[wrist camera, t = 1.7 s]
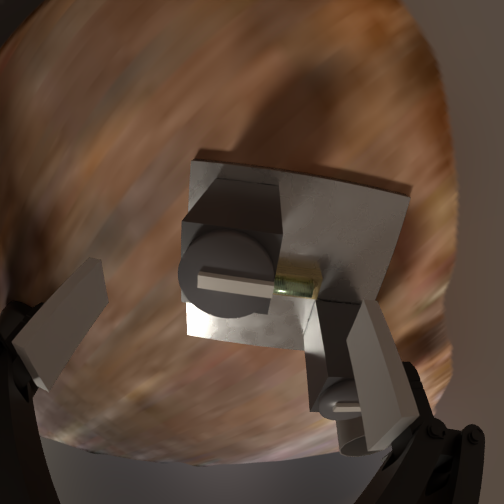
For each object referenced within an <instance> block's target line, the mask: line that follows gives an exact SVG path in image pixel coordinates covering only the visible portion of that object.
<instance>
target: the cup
mask: <svg viewBox="0 0 504 504" xmlns="http://www.w3.org/2000/svg"><path fill="white" fill-rule="evenodd" d="M336 425H337V434H338V442H339V450H340V454H342V455H344V456H347V457H351V456H352V457H359V456H365V455H370V454H373V453H376V452H379V451H382V450H376V451H367V444H366V438H365V431H364V425H363V420H362V416H359V417H356V418H353V419H348V420H336ZM389 446H391V444H390V445H389ZM389 446H388V447H389ZM388 447H387V448H388ZM385 449H386V448H385Z"/></svg>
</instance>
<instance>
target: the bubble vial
mask: <svg viewBox="0 0 504 504" xmlns="http://www.w3.org/2000/svg"><path fill="white" fill-rule="evenodd" d="M322 280H323V278H322V274H321V270H316V269H309V268H301V267H294V266H287V265H279V264H278V265H277V270H276V275H275V281H274V290H273V294H274V295H282V296H290V297H298V298H307V299H315V300H317V297H318V294H319V290H320V287H321V284H322Z"/></svg>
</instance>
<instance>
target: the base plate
mask: <svg viewBox="0 0 504 504" xmlns="http://www.w3.org/2000/svg"><path fill="white" fill-rule="evenodd" d="M216 178H217V179H225V180H234V181H242V182H249V183H257V184H264V185H271V186H278V187H279V191H280V203H281V214H282V227H283V238H282V244H281V249H280V255H279V260H278V264H279V265H287V266H294V267H301V268H309V269H316V270H321V274H322V278H323V280H322V284H321V287H320V290H319V294H318V297H317V300H316V301H325V302H334V303H344V304H353V305H361V304H362V302H363V299H364V300H373V301H375V299H376V297H377V294H378V292H379V289H380V287H381V284H382V282H383V279H384V277H385V274H386V271H387V269H388V266H389V263H390V260H391V258H392V255H393V252H394V249H395V246H396V243H397V240H398V237H399V234H400V231H401V228H402V225H403V222H404V218H405V215H406V212H407V208H408V205H409V201H410V197H409V196H407V195H406V194H402V193H398V192H394V191H390V190H386V189H381V188H377V187H373V186H368V185H364V184H359V183H355V182H350V181H345V180H340V179H335V178H330V177H324V176H319V175H313V174H308V173H302V172H296V171H290V170H283V169H277V168H270V167H263V166H255V165H248V164H240V163H231V162H222V161H212V160H202V159H193V160H191V170H190V186H189V206H188V212H189V211H190V210H191V209H192V207H193V206H194V205H195V203H196V202H197V201H198V200H199V198H200V197H201V196H202V195H203V193H204V192H205V191H206V190H207V188H208V187H209V186H210V185H211V183H212V182H213V181H214V180H215V179H216ZM314 303H315V299H307V298H298V297H290V296H282V295H274V294H273V295H272V298H271V301H270V306H269V311H268V315H266V314H258V313H253V314H250V315H248V316H245V317H241V318H220V317H215V316H212V315H209V314H207V313H205V312H203V311H201V310H200V309H198V308H197V307H195V306H194V305H193V304H191V303H187V335H191V336H197V337H203V338H209V339H215V340H221V341H228V342H235V343H242V344H249V345H257V346H265V347H274V348H283V349H293V350H304V351H305V348H304V335H305V332H306V328H307V325H308V322H309V319H310V316H311V313H312V310H313V306H314Z"/></svg>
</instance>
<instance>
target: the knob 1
mask: <svg viewBox="0 0 504 504" xmlns="http://www.w3.org/2000/svg"><path fill="white" fill-rule="evenodd" d="M282 238H283V227H282V214H281V203H280V191H279V187H278V186H271V185H264V184H257V183H249V182H242V181H234V180H225V179H217V178H216V179H215V180H214V181H213V182H212V183H211V185H210V186H209V187H208V188H207V190H206V191H205V192H204V193H203V195H202V196H201V197H200V198H199V200H198V201H197V202H196V203H195V205H194V206H193V207H192V209H191V210H190V211H189V212H188V214H187V215H186V216H185V218H184V219H183V220H182V231H181V261H180V264H179V268H178V280H179V284H180V287H181V298H182V302H186V303H191V304H193V305H194V306H195V307H197V308H198V309H200V310H201V311H203V312H205V313H207V314H209V315H212V316H215V317H220V318H241V317H245V316H248V315H250V314H253V313H258V314H266V315H268V311H269V306H270V301H271V298H272V295H273V290H274V281H275V275H276V270H277V265H278V260H279V255H280V249H281V244H282Z"/></svg>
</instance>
